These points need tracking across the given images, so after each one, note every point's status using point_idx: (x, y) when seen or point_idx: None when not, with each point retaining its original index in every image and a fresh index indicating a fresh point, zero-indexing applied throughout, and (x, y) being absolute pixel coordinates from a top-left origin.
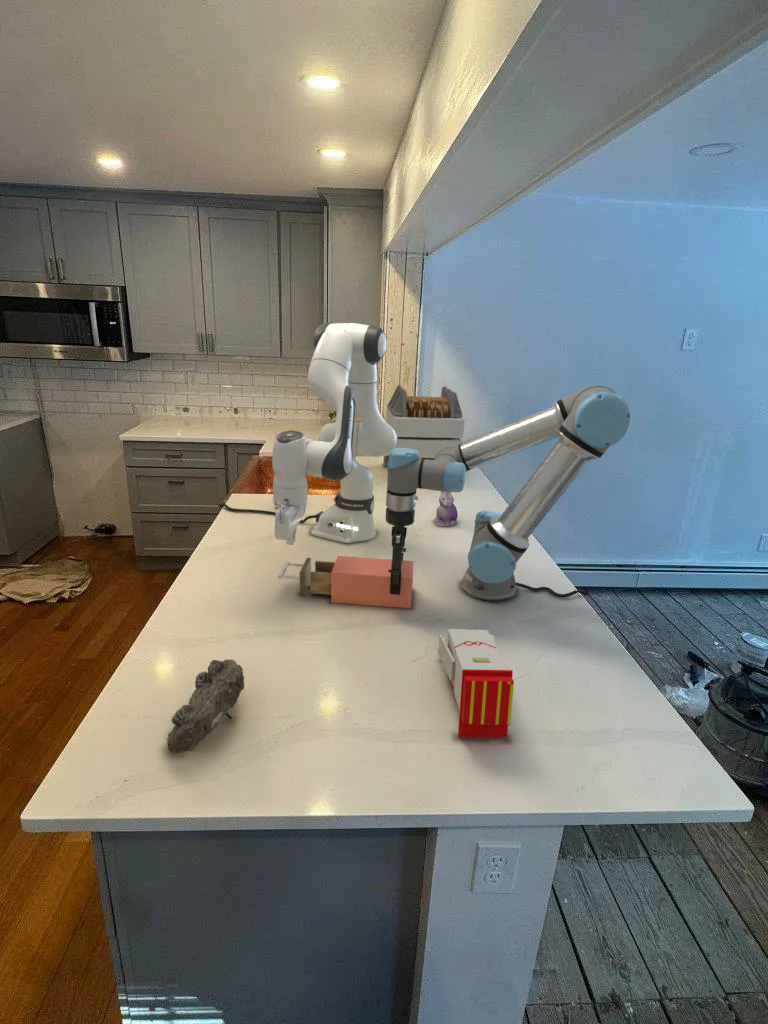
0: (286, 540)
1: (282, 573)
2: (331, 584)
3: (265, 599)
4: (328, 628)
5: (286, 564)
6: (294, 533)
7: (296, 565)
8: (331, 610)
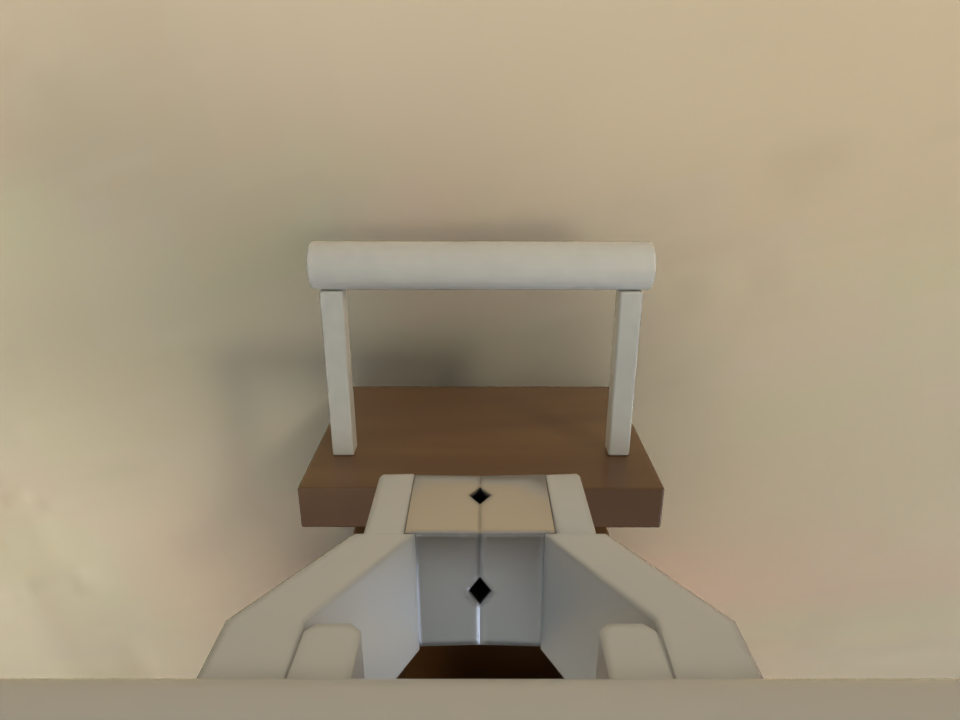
0: (370, 511)
1: (360, 283)
2: None
3: (283, 118)
4: (48, 597)
5: (576, 276)
6: (567, 672)
7: (611, 362)
8: (253, 584)
